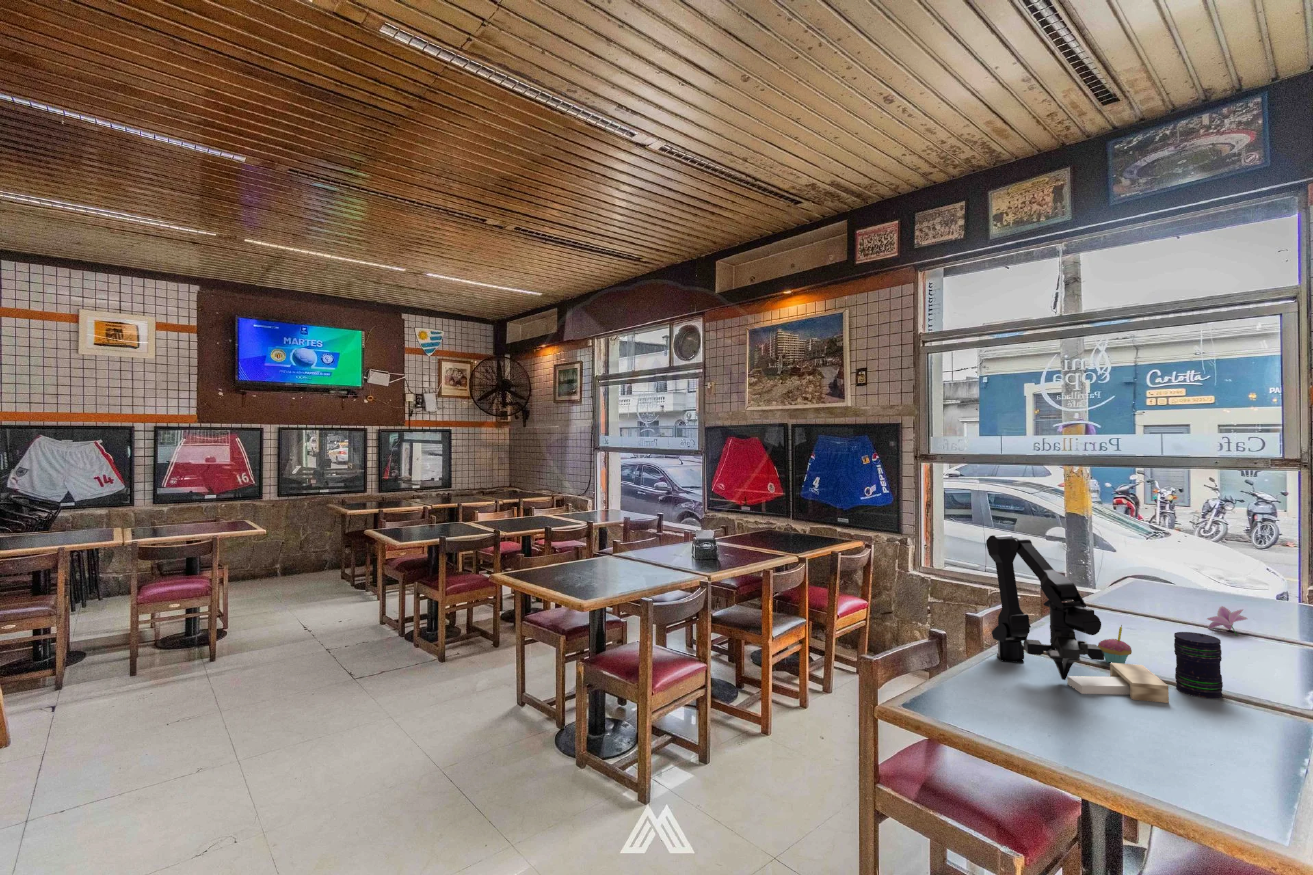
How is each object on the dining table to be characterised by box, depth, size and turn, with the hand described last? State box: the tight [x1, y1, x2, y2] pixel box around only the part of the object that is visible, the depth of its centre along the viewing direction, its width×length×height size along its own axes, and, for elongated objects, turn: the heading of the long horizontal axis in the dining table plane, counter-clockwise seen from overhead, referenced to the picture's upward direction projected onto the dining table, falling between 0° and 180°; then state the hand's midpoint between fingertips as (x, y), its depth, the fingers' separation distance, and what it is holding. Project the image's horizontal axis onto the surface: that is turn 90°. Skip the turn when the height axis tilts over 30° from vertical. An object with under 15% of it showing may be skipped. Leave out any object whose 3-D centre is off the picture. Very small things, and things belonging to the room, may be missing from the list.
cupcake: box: [1097, 624, 1133, 664], centre depth 193 cm, size 9×8×12 cm
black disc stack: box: [1173, 631, 1224, 700], centre depth 169 cm, size 10×10×15 cm
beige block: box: [1109, 663, 1170, 704], centre depth 171 cm, size 8×16×4 cm, turn 161°
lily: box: [1206, 605, 1248, 637], centre depth 219 cm, size 12×12×10 cm
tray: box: [1066, 675, 1130, 695], centre depth 172 cm, size 16×7×2 cm, turn 85°
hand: (1063, 679), depth 177 cm, fingers closed
